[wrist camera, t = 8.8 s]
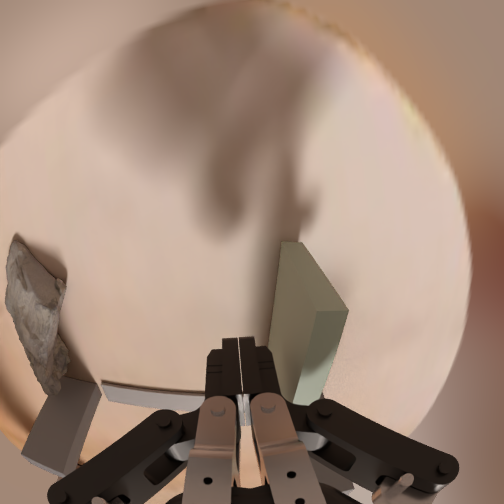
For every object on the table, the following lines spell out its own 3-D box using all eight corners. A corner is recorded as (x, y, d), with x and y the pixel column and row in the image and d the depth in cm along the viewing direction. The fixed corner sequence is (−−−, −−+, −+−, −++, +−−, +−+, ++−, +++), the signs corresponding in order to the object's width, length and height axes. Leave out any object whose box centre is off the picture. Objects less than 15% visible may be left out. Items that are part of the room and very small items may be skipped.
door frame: (315, 410, 22) (341, 499, 13) (69, 394, 20) (38, 469, 11) (323, 389, 21) (356, 486, 12) (58, 372, 19) (18, 451, 10)
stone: (22, 345, 18) (4, 372, 15) (11, 234, 14) (-23, 257, 10) (74, 373, 20) (59, 405, 16) (75, 264, 16) (44, 296, 12)
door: (259, 402, 20) (268, 474, 14) (281, 241, 15) (316, 310, 9) (287, 401, 21) (302, 471, 14) (322, 243, 16) (377, 309, 9)
